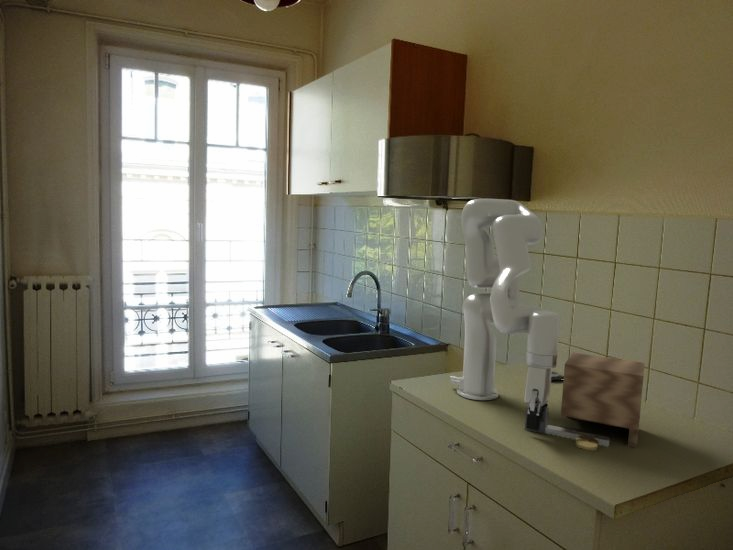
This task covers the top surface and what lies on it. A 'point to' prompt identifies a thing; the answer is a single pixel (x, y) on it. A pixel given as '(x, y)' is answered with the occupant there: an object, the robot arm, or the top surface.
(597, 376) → the cabinet
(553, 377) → the toy car
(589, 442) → the token
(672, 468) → the top surface
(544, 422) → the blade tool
